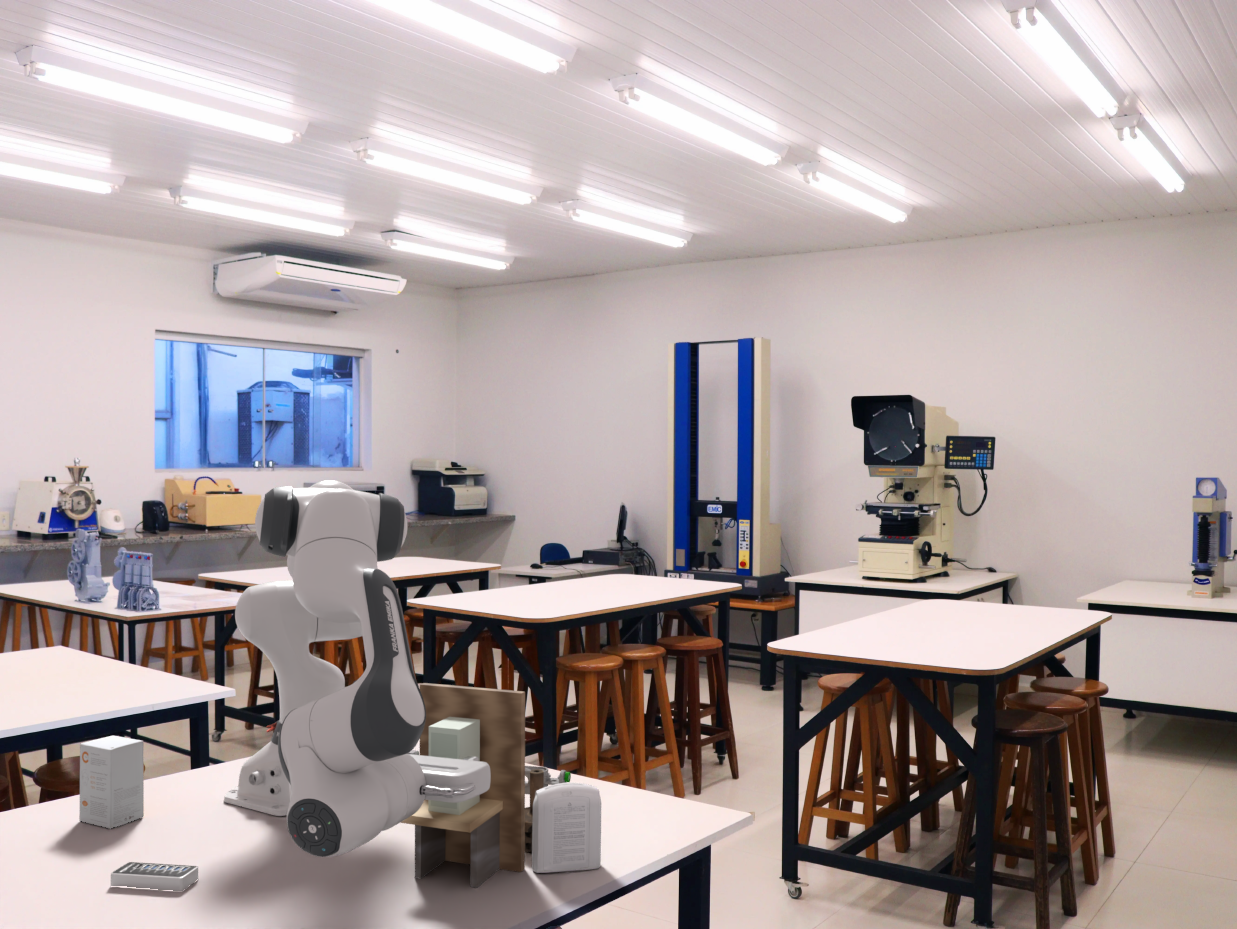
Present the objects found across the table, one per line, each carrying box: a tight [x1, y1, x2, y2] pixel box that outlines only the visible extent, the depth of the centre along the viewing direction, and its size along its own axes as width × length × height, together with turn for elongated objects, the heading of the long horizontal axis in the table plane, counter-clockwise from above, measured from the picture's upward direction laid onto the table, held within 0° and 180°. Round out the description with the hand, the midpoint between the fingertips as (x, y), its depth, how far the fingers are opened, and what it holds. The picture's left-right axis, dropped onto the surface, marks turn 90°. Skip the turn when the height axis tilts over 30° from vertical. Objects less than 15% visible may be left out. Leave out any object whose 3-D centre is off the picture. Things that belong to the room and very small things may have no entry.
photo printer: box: [531, 782, 602, 874], centre depth 146 cm, size 10×4×12 cm, turn 103°
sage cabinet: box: [428, 717, 480, 815], centre depth 143 cm, size 5×6×12 cm
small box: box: [78, 735, 145, 830], centre depth 166 cm, size 8×6×13 cm
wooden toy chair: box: [399, 682, 526, 889], centre depth 143 cm, size 17×11×26 cm, turn 70°
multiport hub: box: [110, 861, 199, 892], centre depth 140 cm, size 4×11×2 cm, turn 82°
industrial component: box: [525, 769, 544, 853], centre depth 153 cm, size 9×7×12 cm
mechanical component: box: [525, 765, 572, 795], centre depth 161 cm, size 3×10×10 cm, turn 78°
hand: (444, 758), depth 140 cm, fingers open, 8 cm apart
